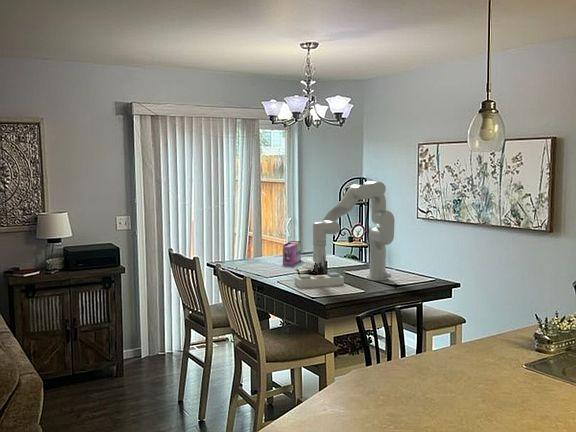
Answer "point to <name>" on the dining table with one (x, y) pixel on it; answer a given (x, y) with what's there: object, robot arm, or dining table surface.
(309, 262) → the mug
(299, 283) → the button panel
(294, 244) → the gum box
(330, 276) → the slate button
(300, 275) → the sage button
